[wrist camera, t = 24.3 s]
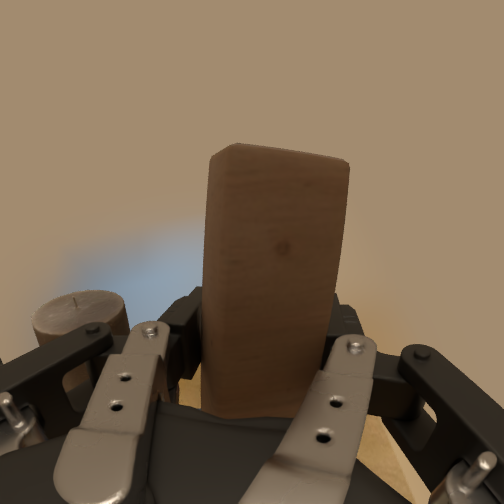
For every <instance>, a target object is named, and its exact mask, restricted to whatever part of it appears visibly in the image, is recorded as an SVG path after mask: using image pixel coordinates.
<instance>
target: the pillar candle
mask: <svg viewBox="0 0 504 504" xmlns="http://www.w3.org/2000/svg"><path fill="white" fill-rule="evenodd" d="M31 318H32V325H33V328H34V331H35V334H36V337H37V340H38V343H39V346H42V345H44V344H46V343H48V342H50V341H52V340H54V339H56V338H58V337H60V336H62V335H64V334H66V333H68V332H70V331H72V330H74V329H76V328H78V327H80V326H82V325H84V324H87V323H91V322H104V323H107V324H108V325H110V327H111V332H112V336H118V335H129V334H130V328H129V323H128V318H127V313H126V309H125V304H124V300H123V299H122V297H121V296H119V295H118V294H116V293H113V292H109V291H103V290H85V291H78V292H74V293H71V294H67V295H64V296H60V297H58V298H55V299H53V300H51V301H49V302H48V303H46V304H44V305H42V306H41V307H40V308H39V309H38V310H37V311H35V313H33V314H32V315H31ZM87 379H89V375H88V372H87V369H86V366H85V363H83V364H81V365H79V366H78V367H76V368H74V369H73V370H71V371H69V372H68V373H66V374H65V375H64V377H63V381H62V384H63V387H64V389H65V392H66V393H67V392H68V391H70V390H71V389H73V388H75V387H76V386H78V385H79V384H81V383H83V382H84V381H86V380H87Z"/></svg>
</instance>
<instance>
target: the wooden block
mask: <svg viewBox="0 0 504 504" xmlns="http://www.w3.org/2000/svg"><path fill="white" fill-rule="evenodd" d="M349 172H350V167H349V163H347V162H346V161H344V160H343V159H339V158H334V157H329V156H323V155H318V154H312V153H305V152H300V151H294V150H288V149H281V148H274V147H266V146H258V145H250V144H241V143H236V144H232V145H229V146H228V147H226V148H224V149H223V150H221V151H220V152H218V153H216V154H215V155H213V156H212V157H211V159H210V164H209V176H208V189H207V204H206V219H205V237H204V257H203V258H204V259H203V282H202V283H203V284H202V315H201V411H204V412H206V413H209V414H212V415H215V416H218V417H220V418H224V419H240V418H253V417H265V416H269V417H284V418H294V417H295V415H296V413H297V411H298V410H299V408H300V406H301V404H302V402H303V400H304V398H305V396H306V394H307V392H308V389H309V387H310V385H311V383H312V381H313V379H314V377H315V375H316V373H317V371H318V370H319V369H320V365H321V360H322V355H323V351H324V346H325V341H326V335H327V331H328V326H329V321H330V316H331V310H332V305H333V299H334V293H335V287H336V280H337V274H338V268H339V261H340V255H341V247H342V240H343V232H344V224H345V215H346V205H347V195H348V185H349Z"/></svg>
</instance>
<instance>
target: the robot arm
mask: <svg viewBox="0 0 504 504" xmlns="http://www.w3.org/2000/svg"><path fill="white" fill-rule="evenodd" d="M201 315H202V287H196V288H195V289H194V290H193V291H192V292H191V293H190V294H189V296H184V297H182V298H180V299H178V300H176V301H175V302H174V303H173V304H172V305H171V307H169V308H168V309H167V310H166V311H165V313H163V314H162V316H161V317H160V318H159V319H158V320H157V321H147V322H143V323H139V324H137V325H136V326H134V327H133V328H132V330H131V332H130V334H129V335H118V336H112V332H111V327H110V325H108V324H107V323H104V322H91V323H87V324H84V325H82V326H80V327H78V328H76V329H74V330H72V331H70V332H68V333H66V334H64V335H62V336H60V337H58V338H56V339H54V340H52V341H50V342H48V343H46V344H44V345H42V346H40V347H38V348H36V349H34V350H32V351H30V352H28V353H26V354H24V355H22V356H20V357H18V358H16V359H14V360H12V361H10V362H8V363H6V364H4V365H2V366H0V504H412V503H411V502H409V501H408V500H407V499H405V498H404V497H403V496H402V495H400V494H399V493H398V492H397V491H395V490H394V489H393V488H392V487H390V486H389V485H388V484H387V483H385V482H384V481H383V480H382V479H380V478H379V477H378V476H377V475H376V474H374V473H373V472H372V471H371V470H370V469H368V468H367V467H366V466H365V465H364V464H363V463H361V462H360V461H359V460H358V459H357V458H356V456H357V452H358V449H359V445H360V441H361V437H362V433H363V429H364V424H365V420H366V416H367V414H369V415H374V416H380V417H381V419H382V422H383V424H384V425H385V427H386V428H387V429H388V431H389V432H390V434H391V435H392V437H393V438H394V439H395V441H396V442H397V444H398V446H399V447H400V448H401V450H402V451H403V453H404V454H405V456H406V457H407V458H408V460H409V462H410V463H411V464H412V466H413V467H414V469H415V470H416V471H417V473H418V475H419V476H420V478H421V479H422V481H423V482H424V483H425V485H426V486H427V488H428V489H429V491H430V492H431V495H430V498H429V502H428V504H504V409H502V407H501V406H500V405H499V404H497V403H496V402H495V401H494V400H493V399H492V398H491V397H490V396H489V395H487V394H486V393H485V392H484V391H483V390H482V389H481V388H480V387H478V386H477V385H476V384H475V383H474V382H473V381H472V380H470V379H469V378H468V377H467V376H466V375H465V374H464V373H462V372H461V371H460V370H459V369H458V368H457V367H455V366H454V365H453V364H452V363H451V362H450V361H448V360H447V359H446V358H445V357H444V356H443V355H441V354H440V353H439V352H438V351H437V350H435V349H434V348H432V347H429V346H426V345H421V344H413V345H409V346H406V347H405V348H403V350H402V352H401V356H394V355H388V354H383V353H380V352H378V351H377V345H376V343H375V342H374V341H373V340H372V339H370V338H368V337H366V336H365V335H364V333H363V330H362V327H361V324H360V321H359V319H358V316H357V314H356V311H355V310H354V309H353V308H352V307H350V306H349V305H340V304H339V300H338V297H337V294H336V293H334V299H333V305H332V310H331V316H330V321H329V326H328V331H327V335H326V341H325V346H324V351H323V355H322V360H321V365H320V369H319V370H318V371H317V373H316V375H315V377H314V379H313V381H312V383H311V385H310V387H309V389H308V392H307V394H306V396H305V398H304V400H303V402H302V404H301V406H300V408H299V410H298V411H297V413H296V415H295V417H294V418H284V417H269V416H265V417H253V418H240V419H224V418H220V417H218V416H215V415H212V414H209V413H206V412H204V411H201V410H198V409H196V408H193V407H190V406H184V405H179V384H178V382H179V380H180V378H182V379H189V380H192V378H193V376H194V374H195V372H196V370H197V368H198V366H199V364H200V363H201ZM83 363H85V366H86V369H87V372H88V375H89V379H87V380H86V381H84V382H83V383H81V384H79V385H78V386H76V387H75V388H73V389H71V390H70V391H68V392H67V393H66V392H65V389H64V387H63V384H62V381H63V377H64V375H65V374H66V373H68V372H69V371H71V370H73V369H74V368H76V367H78V366H79V365H81V364H83ZM425 402H427V404H428V405H429V406H430V407H431V408H432V409H433V410H434V412H435V414H436V418H437V423H436V422H435V421H434V420H433V419H432V418H431V417H430V415H429V414H428V413H427V412H426V411H425V410H424V409H423V407H424V405H425Z"/></svg>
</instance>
